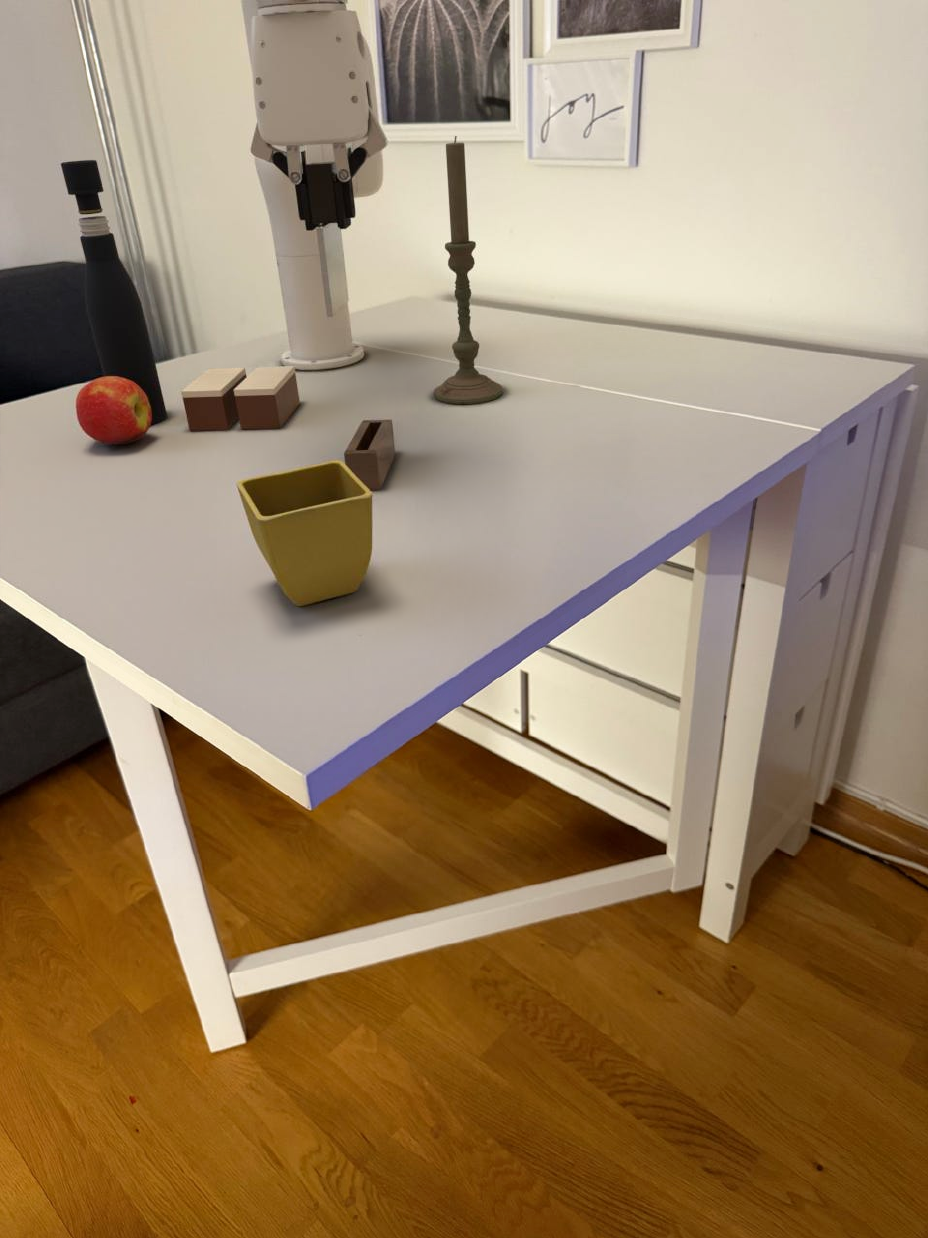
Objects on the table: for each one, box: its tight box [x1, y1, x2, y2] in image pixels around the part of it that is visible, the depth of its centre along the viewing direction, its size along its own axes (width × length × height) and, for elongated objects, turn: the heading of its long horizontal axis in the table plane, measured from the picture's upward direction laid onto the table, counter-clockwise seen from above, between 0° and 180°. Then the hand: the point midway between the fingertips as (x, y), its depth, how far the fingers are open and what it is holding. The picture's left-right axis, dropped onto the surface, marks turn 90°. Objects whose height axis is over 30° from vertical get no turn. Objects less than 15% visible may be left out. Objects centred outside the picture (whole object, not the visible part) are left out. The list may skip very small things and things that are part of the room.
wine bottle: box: [60, 159, 168, 426], centre depth 109 cm, size 6×6×30 cm
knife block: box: [343, 419, 396, 491], centre depth 95 cm, size 10×3×4 cm, turn 175°
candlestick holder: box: [433, 135, 504, 405], centre depth 111 cm, size 9×9×30 cm
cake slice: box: [234, 365, 301, 431], centre depth 114 cm, size 10×5×5 cm, turn 175°
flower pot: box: [235, 459, 373, 607], centre depth 71 cm, size 9×9×9 cm
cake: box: [180, 367, 247, 432], centre depth 114 cm, size 10×5×5 cm, turn 175°
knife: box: [305, 161, 350, 317], centre depth 86 cm, size 8×2×13 cm, turn 175°
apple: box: [75, 376, 152, 446], centre depth 107 cm, size 8×8×8 cm
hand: (328, 225), depth 86 cm, fingers closed on knife, 2 cm apart
